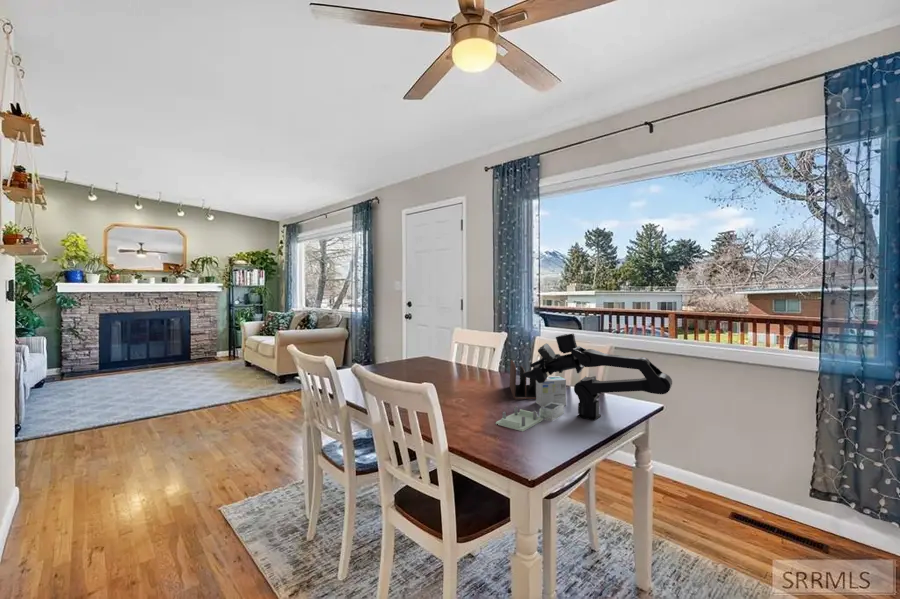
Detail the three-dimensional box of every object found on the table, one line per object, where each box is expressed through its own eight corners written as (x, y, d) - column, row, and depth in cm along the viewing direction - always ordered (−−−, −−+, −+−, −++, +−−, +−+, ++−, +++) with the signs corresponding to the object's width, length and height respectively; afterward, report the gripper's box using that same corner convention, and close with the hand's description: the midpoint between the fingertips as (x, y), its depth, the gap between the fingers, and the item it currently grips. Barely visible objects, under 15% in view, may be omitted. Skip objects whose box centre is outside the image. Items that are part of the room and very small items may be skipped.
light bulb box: (559, 400, 175) (559, 375, 174) (566, 405, 168) (566, 379, 167) (535, 402, 173) (535, 376, 172) (541, 407, 166) (541, 380, 165)
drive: (563, 414, 158) (563, 404, 158) (552, 422, 151) (552, 410, 150) (551, 412, 161) (551, 401, 161) (539, 419, 154) (539, 408, 153)
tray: (542, 420, 152) (542, 409, 151) (522, 431, 141) (522, 420, 141) (516, 413, 159) (516, 404, 159) (495, 424, 148) (495, 413, 148)
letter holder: (513, 399, 177) (513, 367, 176) (509, 387, 197) (509, 357, 196) (537, 400, 177) (537, 367, 176) (530, 387, 196) (531, 357, 195)
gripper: (562, 335, 166) (527, 343, 175) (548, 351, 151) (511, 360, 159) (572, 361, 167) (536, 368, 176) (559, 380, 152) (521, 387, 160)
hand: (526, 370), depth 168 cm, fingers open, 9 cm apart
